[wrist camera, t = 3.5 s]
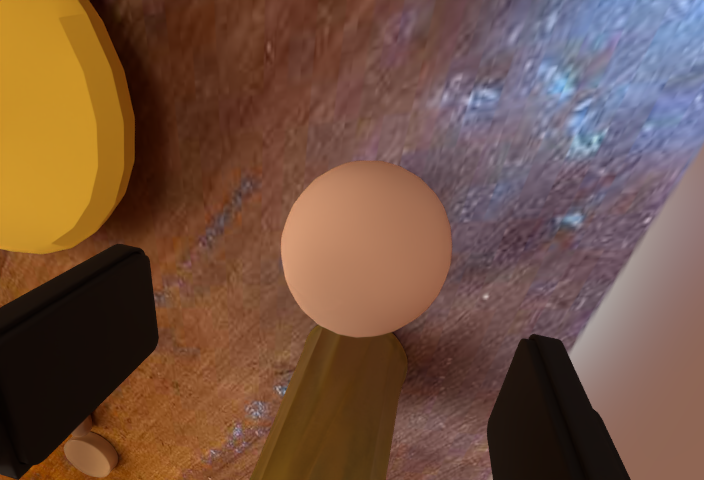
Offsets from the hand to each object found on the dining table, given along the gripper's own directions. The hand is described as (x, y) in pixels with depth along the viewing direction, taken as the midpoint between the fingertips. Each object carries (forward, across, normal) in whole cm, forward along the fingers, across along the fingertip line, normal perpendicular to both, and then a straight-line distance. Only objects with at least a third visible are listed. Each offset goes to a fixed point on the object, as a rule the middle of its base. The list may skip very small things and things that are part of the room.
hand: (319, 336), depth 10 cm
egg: (+10, 0, 0) cm, 10 cm away
